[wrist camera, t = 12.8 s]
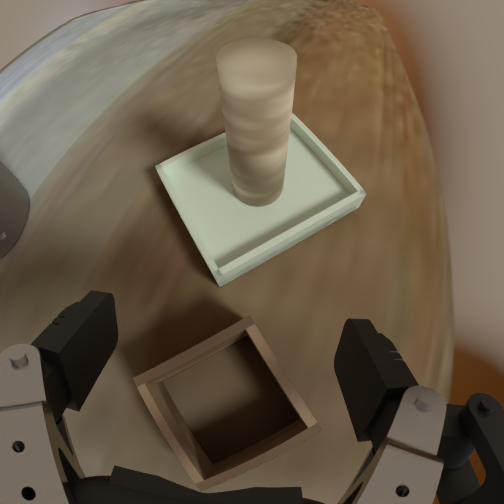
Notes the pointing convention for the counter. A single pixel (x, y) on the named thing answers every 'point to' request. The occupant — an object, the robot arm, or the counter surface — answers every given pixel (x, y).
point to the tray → (256, 218)
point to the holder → (180, 432)
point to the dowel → (257, 115)
